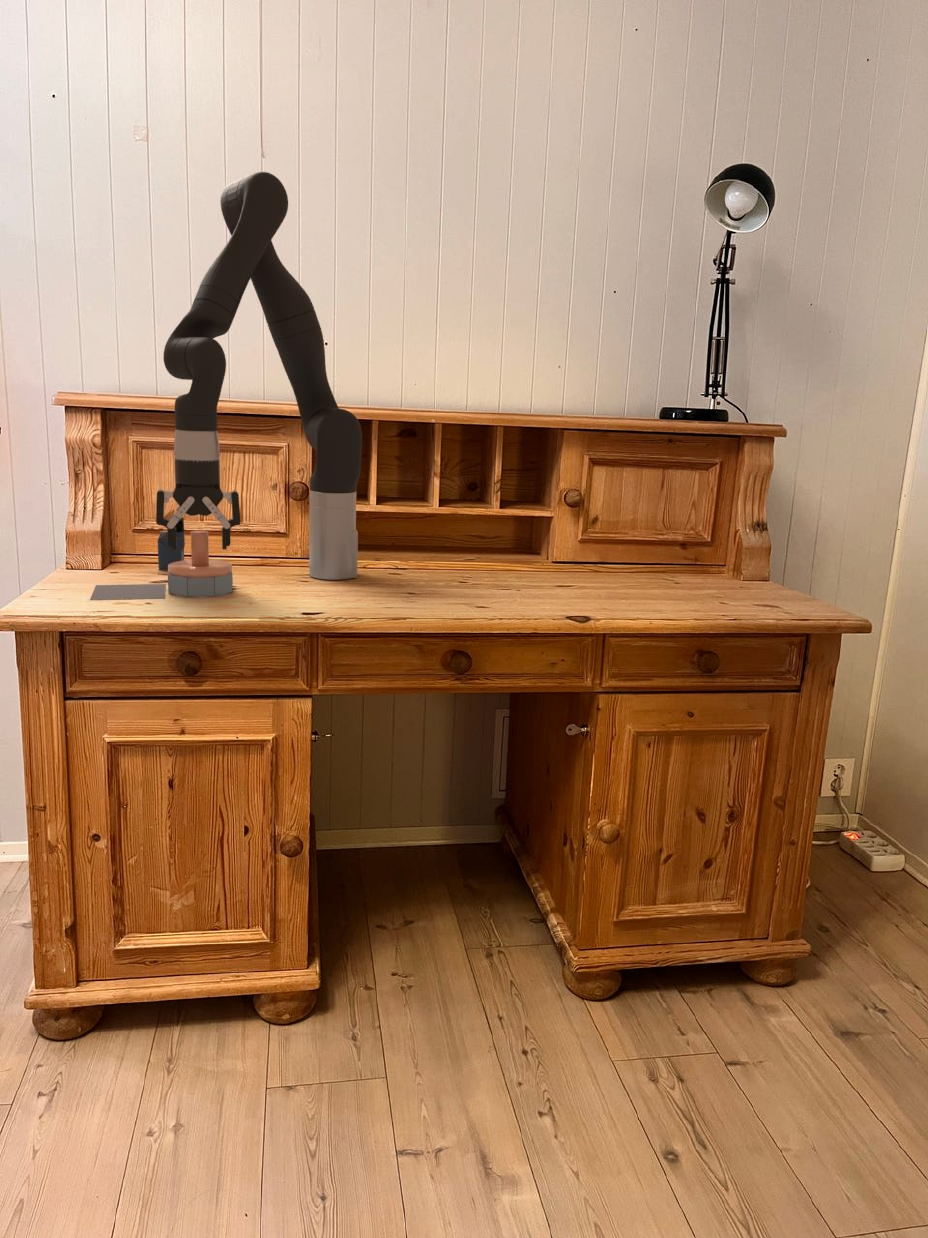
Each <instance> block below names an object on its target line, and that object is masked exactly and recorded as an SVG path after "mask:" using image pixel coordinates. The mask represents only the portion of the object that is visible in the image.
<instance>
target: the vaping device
mask: <svg viewBox="0 0 928 1238" xmlns="http://www.w3.org/2000/svg"><path fill="white" fill-rule="evenodd" d="M184 520H185V518H184V516H183V517H182V518H181V519H180V520H179V521H178V523H177V524H176V525H175V528H176V546H177V550H172V547H169V545H168V530H160V531H159V535H158V538H157V558H158V559H157V561H158V563H157V564H158V566H157V567H158V570H159V571H167V572H168V565H169V564H170V563H173V562H177V561H184V560H185V546H186V541H185V540H186V539H185V538H186V537H185V521H184Z"/></svg>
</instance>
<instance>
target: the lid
mask: <svg viewBox="0 0 928 1238" xmlns="http://www.w3.org/2000/svg"><path fill="white" fill-rule="evenodd" d="M209 545H210V544H209V531H206V530H191V531H190V555H191V556H190V557H191V559H184V561H177V562H173V563H170V564H169V565H168V571H167V574H168V573H169V574H171V575H174V576H178V577H187V578H211V577H220V576H225V575H228V574H231V573H232V574H233V564H232V563H230V562H228V561H225V560H224V561H223V560H217V559H210V551H209V550H210V546H209Z"/></svg>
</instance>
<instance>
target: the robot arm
mask: <svg viewBox="0 0 928 1238" xmlns="http://www.w3.org/2000/svg"><path fill="white" fill-rule="evenodd" d="M220 208H221V214H222V217H223V220H224V222H225V226H226V227H227V229H228V231H229V232H228V233H229V234H230V238H229V240H228V241H227V243H226V244H225V246H224V247H223V248H222V250H221V252H220V253H219V254H218V256H217V257H216V258H215V260H214V261H213V262H212V264H211V265H210V266H209V268H208V269H207V271H206V273H205V275H204V276H203V278H202V280H201V282H200V285H199V287H198V289H197V292H196V295H195V297H194V299H193V302H192V305H191V308H190V309H189V311H188V312H187V313H186V314H185V316H184V317H183V318H182V319H181V321H180V322H179V323H178V324H177V326H176V327H175V329H174V330H173V331H172V333H171V334H170V336H169V337H168V339H167V341H166V343H165V345H164V350H163V355H162V356H163V363H164V367H165V370H166V371H167V373H168V374H169V375H171V376H172V377H174V378H175V379H178V380H184V381H185V380H187V381H188V380H189V381H191V384H190V387H189V388H190V389H189V392H187V393H186V394H182V395H179V396H178V397H176V398H175V402H174V440H173V442H174V443H173V448H174V449H173V456H174V479H175V480H174V481H175V485H174V486H175V487H174V489H173V491H171V490H163V489H158V490H157V493H156V506H155V507H156V510H155V511H156V513H155V514H156V515H155V516H156V517H155V522H156V524H157V525H158V526H162V527H164V528H165V529H166V531H168V545H169V547H172V550H177V546H176V528H175V525H176V524H177V523H178V521H179V520H180V519H181V518H182V517H184V515H185V514H186V515H187V516H190V517H195V516H197V515H200V516H205V517H208V516H209V515H211V514H212V516H214V518H215V519H216V520H217V521H218V522H219V523H220V524H221V546H222V547H221V548H222V550H223V551H224V550H227V548H228V547H230V545H231V529H232V528H233V527H236V526H239V525H241V522H242V521H241V509H240V508H241V507H240V495H239V492H238V491H237V490H235V489H233V490H232V491H222V489H221V468H220V467H221V465H220V464H221V463H220V457H221V452H220V441H219V433H218V432H219V431H218V404H219V400H220V398H221V393H222V388H223V384H224V380H225V376H226V370H227V359H226V355H225V351H224V349H223V347H222V345H221V344H220V343H219V342H218V341H217V340H216V339H215V338H218V337H221V336H223V335H226V334H227V333H228V332H229V331H230V328H231V326H232V324H233V322H234V319H235V316H236V313H237V312H238V309H239V307H240V304H241V301H242V299H243V295H244V294H245V291H246V289H247V287H248V285H249V282H250V281H251V283H252V285H253V288H254V290H255V293H256V296H257V299H258V301H259V303H260V307H261V309H262V312H263V314H264V318H265V320H266V324H267V327H268V329H269V332H270V336H271V339H272V340H273V343H274V345H275V348H276V350H277V353H278V355H279V358H280V361H281V363H282V366H283V369H284V371H285V374H286V375H287V378H288V380H289V383H290V386H291V388H292V391H293V394H294V398H295V400H296V403H297V404H296V405H297V409H298V411H299V417H300V420H301V425H302V427H303V432H304V436H305V438H306V441H307V442H308V444H309V446H310V447H311V448H312V449H313V450H314V451H316V453H315V455H316V456H315V457H316V458H315V467H314V470H313V472H312V474H311V476H310V477H309V534H308V535H309V537H308V538H309V542H308V543H309V544H308V545H309V551H308V553H309V555H308V557H309V559H308V560H309V564H308V567H309V572H308V573H309V577H311V578H314V579H320V580H347V579H348V580H349V579H354V578H355V579H356V578H358V555H359V553H358V552H359V550H358V549H359V544H358V543H359V539H358V538H359V533H358V530H357V525H356V522H357V488H358V487H357V486H358V485H357V484H358V481H359V478H360V475H361V471H362V470H361V468H362V451H363V450H362V449H363V432H362V426H361V424H360V421H359V420H358V418H357V416H355V414H353V413H352V412H351V411H349V410H346V409H343V408H340V407H339V406H338V403H337V401H336V399H335V397H334V394H333V391H332V388H331V386H330V384H329V380H328V379H329V378H328V376H327V367H326V366H327V365H326V352H325V340H324V335H323V332H322V328H321V325H320V321H319V318H318V315H317V312H316V310H315V306H314V305H313V302H312V300H311V298H310V296H309V295H308V293H307V292H306V290H305V289H304V288H303V287H302V285H301V284H300V283H299V282H298V280H297V279H295V277H294V276H293V275H292V274H291V273H290V272H289V271H288V270H287V268H286V266H285V265H284V264H283V263H282V261H281V259H280V258H279V255H278V254H277V251H276V249H275V246H274V244H273V241H272V239H273V238H274V236H275V235H276V233H277V232H278V230H279V228H280V227H281V226H282V224H283V222H284V220H285V218H286V216H287V213H288V210H289V197H288V193H287V190H286V188H285V186H284V184H283V182H281V180H280V179H279V178H278V177H277V176H276V175H274V174H272V173H270V172H267V171H257V172H253V173H250V174H248V175H245V176H243V177H241V178H239V179H236V180H234V181H232V182H230V183H228V184H227V185H225V186H224V188H223V189H222V191H221V196H220ZM171 498H173V500H174V501H175V502H176V504H177V505H178V507H177V509H176V510H175V511H174V513H173V514H172V515H171V517H170V518H169V519H167V518H165V504H167V503H169V501H170V499H171ZM223 498H224V499H226V502H227V503H228V504H229V505H231V511H232V517H231V518H229V519H227V517H226V516H225V515H224V513H223V512H222V511H221V510H220V508H219V507H218V506H219V504H220V503H221V502H222V501H223Z"/></svg>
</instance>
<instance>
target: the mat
mask: <svg viewBox="0 0 928 1238" xmlns="http://www.w3.org/2000/svg"><path fill="white" fill-rule="evenodd" d="M166 587H167V584H166V583H149V584H147V583H144V584H143V583H141V584H139V583H138V584H136V583H135V584H95V586H94V589H93V592H92V593H91V596H90V598H89V601H120V600H123V601H124V600H125V601H127V600H128V601H129V600H164V599H166V589H167V588H166Z"/></svg>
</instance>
